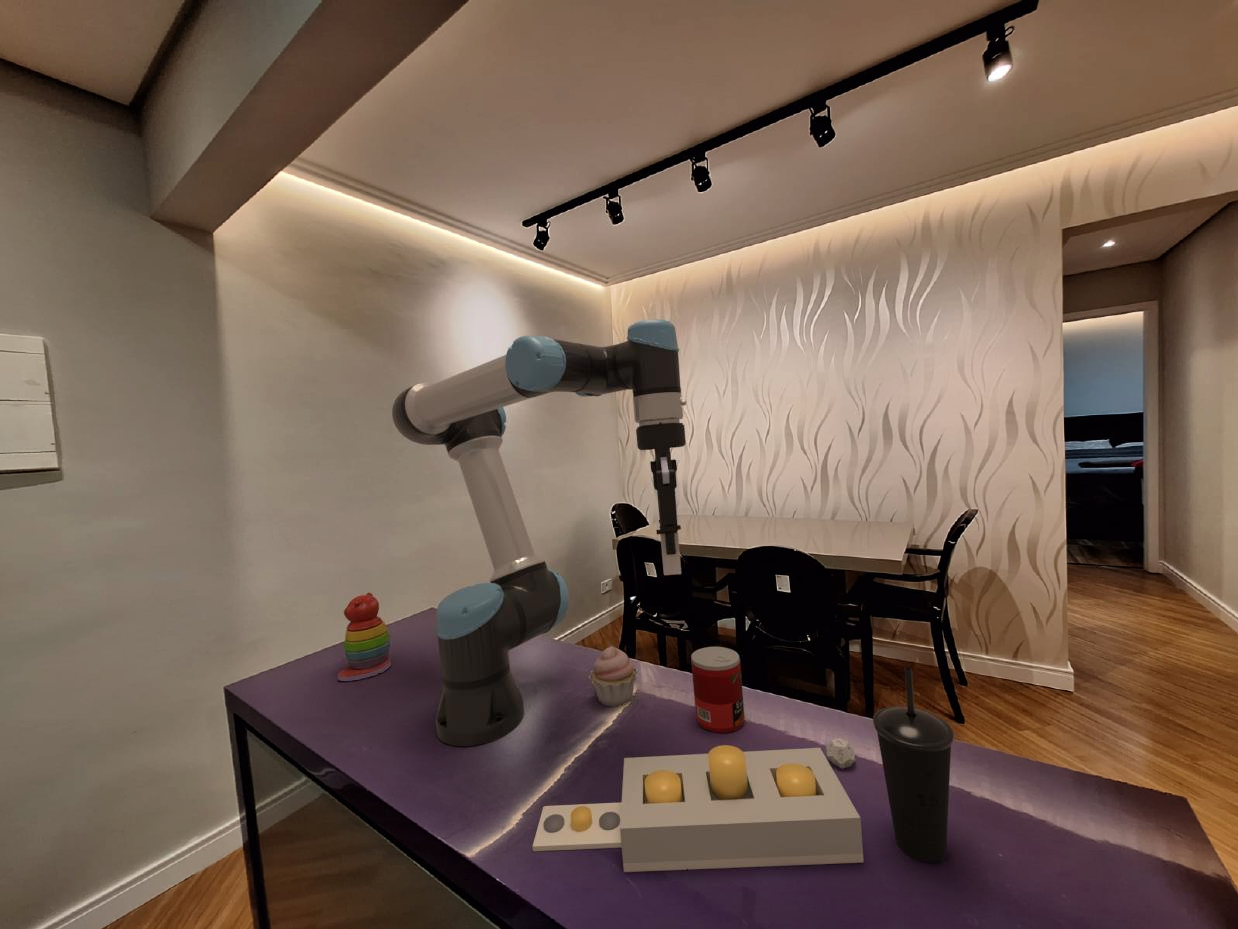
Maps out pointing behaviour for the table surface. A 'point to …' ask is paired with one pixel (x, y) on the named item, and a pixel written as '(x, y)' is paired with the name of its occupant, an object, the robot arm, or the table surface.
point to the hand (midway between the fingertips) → (672, 573)
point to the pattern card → (579, 827)
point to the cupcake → (613, 677)
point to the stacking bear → (365, 637)
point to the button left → (663, 787)
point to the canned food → (718, 689)
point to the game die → (840, 753)
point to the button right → (795, 781)
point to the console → (737, 817)
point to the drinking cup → (916, 775)
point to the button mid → (728, 772)
